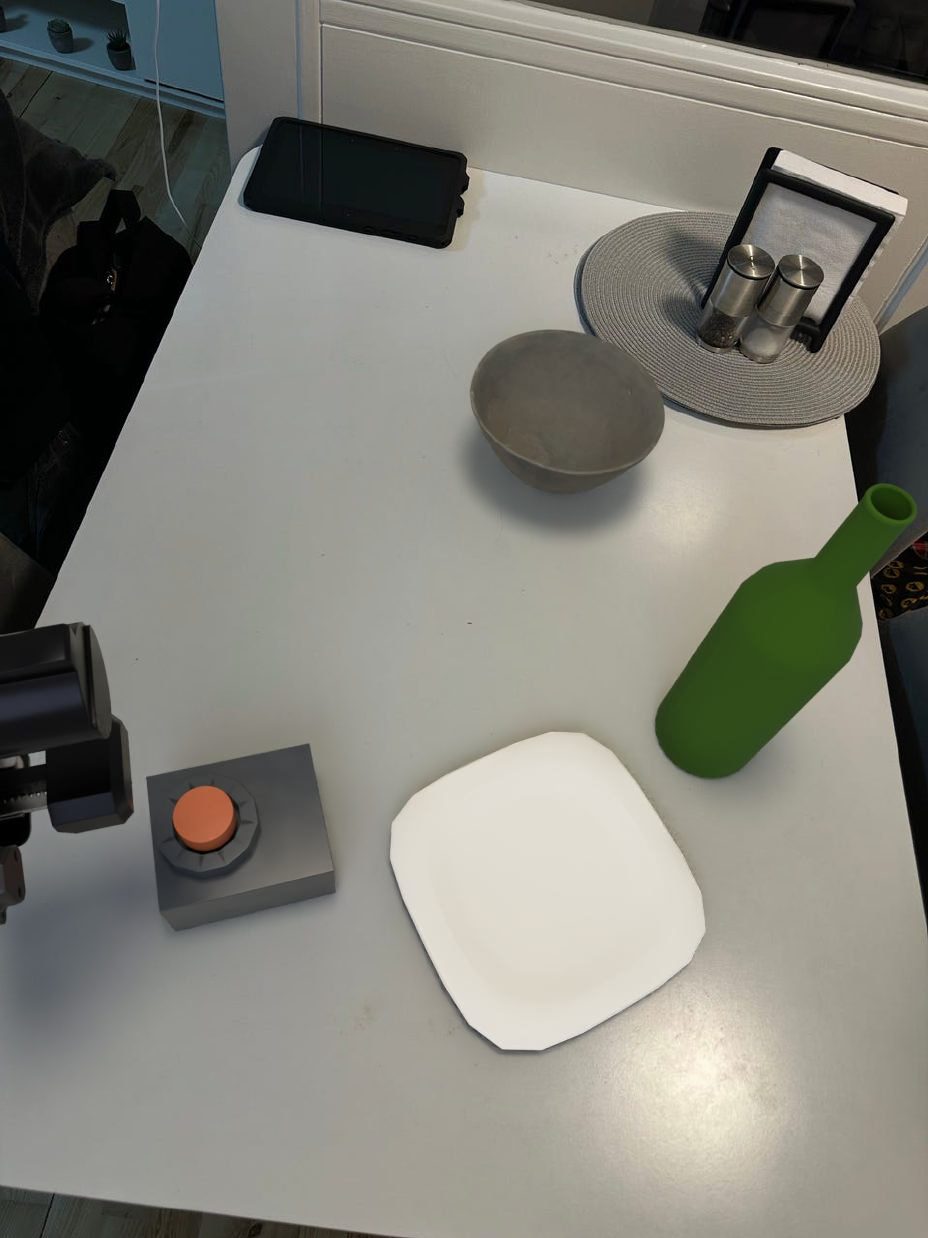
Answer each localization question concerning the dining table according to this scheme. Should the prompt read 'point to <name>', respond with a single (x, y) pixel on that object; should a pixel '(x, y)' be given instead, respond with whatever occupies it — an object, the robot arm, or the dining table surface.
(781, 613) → the wine bottle
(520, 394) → the bowl
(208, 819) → the button
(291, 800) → the control block
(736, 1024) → the dining table surface
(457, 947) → the plate
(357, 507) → the dining table surface
